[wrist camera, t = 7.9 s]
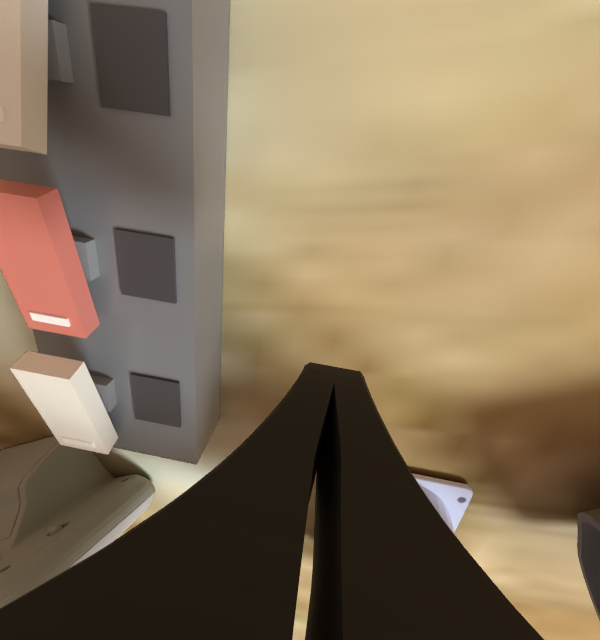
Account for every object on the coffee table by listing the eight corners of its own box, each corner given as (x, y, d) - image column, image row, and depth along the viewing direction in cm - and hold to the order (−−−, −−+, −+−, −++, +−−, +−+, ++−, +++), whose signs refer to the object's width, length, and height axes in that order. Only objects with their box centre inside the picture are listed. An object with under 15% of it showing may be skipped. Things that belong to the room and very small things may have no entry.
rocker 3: (118, 437, 20) (106, 456, 19) (72, 427, 20) (59, 446, 19) (84, 361, 16) (67, 381, 15) (27, 350, 16) (7, 369, 15)
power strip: (218, 419, 23) (192, 473, 20) (98, 395, 24) (50, 443, 20) (235, -221, 12) (176, -389, 8) (-4, -237, 12) (-165, -401, 8)
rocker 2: (99, 324, 16) (84, 340, 16) (44, 313, 17) (26, 329, 16) (57, 188, 13) (34, 199, 12) (-13, 177, 13) (-41, 187, 12)
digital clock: (7, 515, 32) (-139, 674, 23) (-54, 435, 28) (-259, 586, 19) (178, 516, 29) (89, 703, 19) (134, 424, 25) (-4, 602, 16)
